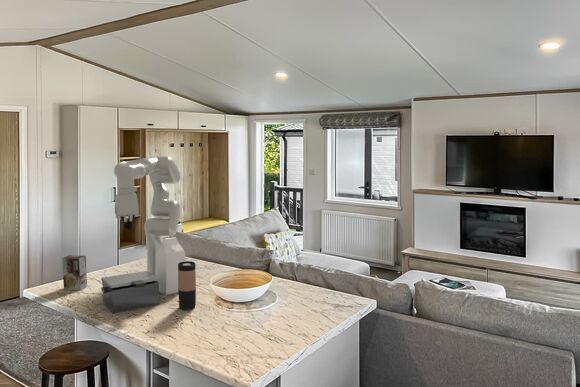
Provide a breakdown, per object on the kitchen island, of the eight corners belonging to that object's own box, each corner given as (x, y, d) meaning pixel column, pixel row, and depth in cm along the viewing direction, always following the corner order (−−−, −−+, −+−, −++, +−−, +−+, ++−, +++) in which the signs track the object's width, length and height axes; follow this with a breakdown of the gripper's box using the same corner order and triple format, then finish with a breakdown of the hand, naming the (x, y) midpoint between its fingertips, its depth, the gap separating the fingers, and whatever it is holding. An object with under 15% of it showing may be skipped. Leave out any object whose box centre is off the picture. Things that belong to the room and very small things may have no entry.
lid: (147, 273, 216) (147, 270, 216) (165, 282, 196) (165, 279, 196) (101, 280, 204) (101, 277, 204) (115, 291, 184) (115, 287, 184)
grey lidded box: (150, 292, 219) (150, 272, 218) (163, 303, 204) (162, 281, 203) (98, 301, 205) (97, 280, 204) (108, 314, 190) (107, 291, 189)
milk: (175, 284, 232) (175, 234, 229) (187, 289, 224) (187, 238, 221) (154, 289, 223) (153, 238, 221) (166, 294, 215) (165, 241, 212)
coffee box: (87, 286, 227) (86, 255, 225) (80, 290, 220) (79, 258, 219) (70, 285, 228) (69, 254, 226) (63, 289, 221) (61, 257, 219)
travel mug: (180, 304, 203) (179, 261, 200) (197, 304, 203) (196, 261, 201) (177, 310, 195) (176, 265, 193) (195, 310, 196) (194, 265, 193)
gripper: (139, 189, 217) (141, 226, 220) (107, 191, 208) (109, 230, 211) (144, 190, 211) (146, 228, 214) (111, 193, 202) (113, 233, 205)
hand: (127, 229), depth 212 cm, fingers closed
